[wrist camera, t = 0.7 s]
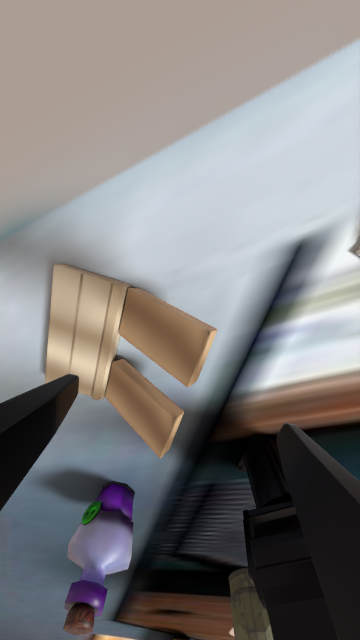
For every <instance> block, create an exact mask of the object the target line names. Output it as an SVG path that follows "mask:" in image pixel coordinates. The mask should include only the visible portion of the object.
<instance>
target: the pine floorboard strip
mask: <svg viewBox="0 0 360 640" xmlns="http://www.w3.org/2000/svg"><path fill="white" fill-rule="evenodd" d="M128 288H131V285H130V284H127V283H124V282H121V281H117V280H114V279H111V278H108V277H105V276H101V275H98V274H95V273H92V272H88V271H85V270H82V269H79V268H76V267H72V266H69V265H66V264H56V265H54V270H53V283H52V296H51V309H50V322H49V335H48V348H47V361H46V375H45V384H46V383H48V382H50V381H53V380H55V379H57V378H60V377H62V376H64V375H66V374H74V375H78V376H79V390H78V393H82V394H85V395H89V396H92V399H96V400H99V399H104V397H105V396H106V391H107V386H108V382H109V377H110V372H111V367H112V363H113V362H114V361H115V357H116V353H117V348H118V344H119V339H120V335H119V330H120V325H121V321H122V316H123V311H124V307H125V302H126V297H127V293H128Z"/></svg>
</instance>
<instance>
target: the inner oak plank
mask: <svg viewBox="0 0 360 640" xmlns="http://www.w3.org/2000/svg"><path fill="white" fill-rule="evenodd" d="M105 397H106V399H107V400H108V401H109V402H110V403H111V404H112V405H113V406H114V408H115V409H116V410H117V411H118V412H119V413H120V414H121V415H122V416H123V418H124V419H125V420H126V421H127V422H128V423H129V424H130V425H131V427H132V428H133V429H134V430H135V431H136V432H137V433H138V434H139V435H140V437H141V438H142V439H143V440H144V441H145V442H146V443H147V444H148V446H149V447H150V448H151V449H152V450H153V451H154V452H155V453H156V454H157V456H158V457H159V458H161V457H162V456H163V455H164V454H165V453H166V452H167V451H168V450H169V449H170V446H171V444H172V441H173V439H174V436H175V434H176V431H177V429H178V426H179V424H180V421H181V419H182V416H183V414H184V411H183V410H182V409H181V408H180V407H178V406H177V405H176V404H175V403H174V402H173V401H172V400H170V399H169V398H168V397H167V396H166V395H165V394H163V393H162V392H161V391H160V390H159V389H158V388H157V387H155V386H154V385H153V384H152V383H151V382H150V381H148V380H147V379H146V378H145V377H144V376H143V375H142V374H140V373H139V372H138V371H137V370H136V369H135V368H133V367H132V366H131V365H130V364H129V363H128V362H127V361H125V360H124V359H121V360H117V361H114V362H113V363H112V367H111V372H110V377H109V382H108V386H107V391H106V396H105Z"/></svg>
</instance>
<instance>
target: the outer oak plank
mask: <svg viewBox="0 0 360 640" xmlns="http://www.w3.org/2000/svg"><path fill="white" fill-rule="evenodd" d="M216 332H217V329H216V328H214V327H212V326H210V325H208V324H206V323H204V322H202V321H200V320H199V319H197V318H195V317H193V316H191V315H189V314H187V313H185V312H183V311H182V310H180V309H178V308H176V307H174V306H172V305H170V304H168V303H166V302H164V301H163V300H161V299H159V298H157V297H155V296H153V295H151V294H149V293H147V292H146V291H144V290H142V289H140V288H128V293H127V297H126V302H125V307H124V311H123V316H122V321H121V325H120V330H119V335H121V336H122V337H123V338H124V339H126V340H127V341H128V342H130V343H131V344H132V345H133V346H135V347H136V348H137V349H139V350H140V351H141V352H142V353H144V354H145V355H146V356H148V357H149V358H150V359H151V360H153V361H154V362H155V363H157V364H158V365H159V366H160V367H162V368H163V369H164V370H166V371H167V372H168V373H169V374H171V375H172V376H173V377H175V378H176V379H177V380H178V381H180V382H181V383H182V384H184V385H185V386H186V387H187V388H188V387H189V386H191V385H192V384H194V383H195V382H196V381H197V379H198V377H199V374H200V372H201V369H202V367H203V364H204V362H205V359H206V357H207V355H208V352H209V350H210V347H211V345H212V342H213V340H214V337H215V335H216Z"/></svg>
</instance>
